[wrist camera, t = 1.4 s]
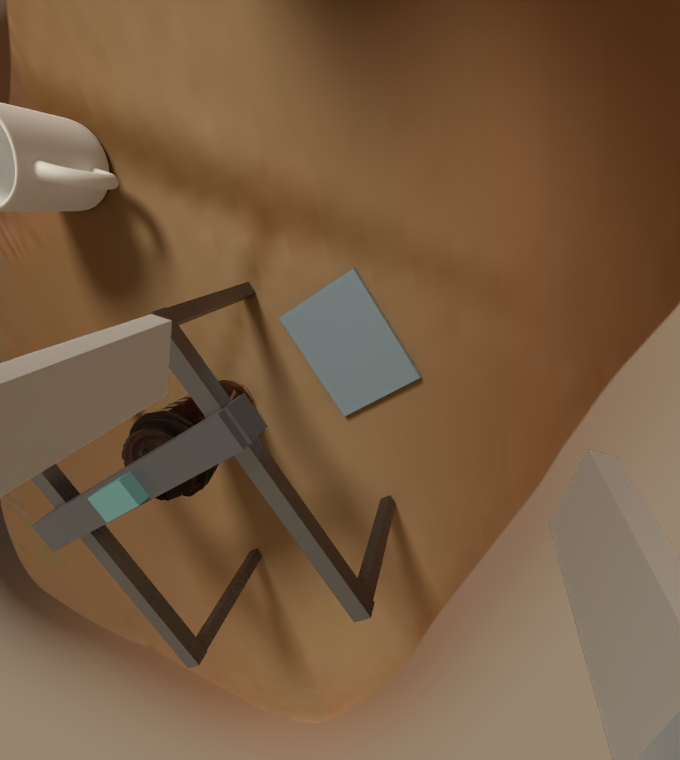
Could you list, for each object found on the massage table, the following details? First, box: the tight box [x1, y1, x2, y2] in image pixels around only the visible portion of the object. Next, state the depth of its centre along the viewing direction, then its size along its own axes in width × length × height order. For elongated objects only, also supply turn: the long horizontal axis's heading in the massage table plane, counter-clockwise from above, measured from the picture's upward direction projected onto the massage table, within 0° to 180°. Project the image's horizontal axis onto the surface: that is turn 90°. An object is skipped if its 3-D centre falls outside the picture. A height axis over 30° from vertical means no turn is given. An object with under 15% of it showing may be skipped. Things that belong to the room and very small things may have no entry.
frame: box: [31, 282, 396, 668], centre depth 43 cm, size 28×22×15 cm
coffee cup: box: [122, 380, 256, 501], centre depth 43 cm, size 9×8×13 cm
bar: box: [32, 393, 267, 551], centre depth 35 cm, size 3×24×5 cm, turn 124°
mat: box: [279, 268, 421, 417], centre depth 43 cm, size 12×9×1 cm
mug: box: [0, 103, 119, 211], centre depth 39 cm, size 12×8×10 cm
